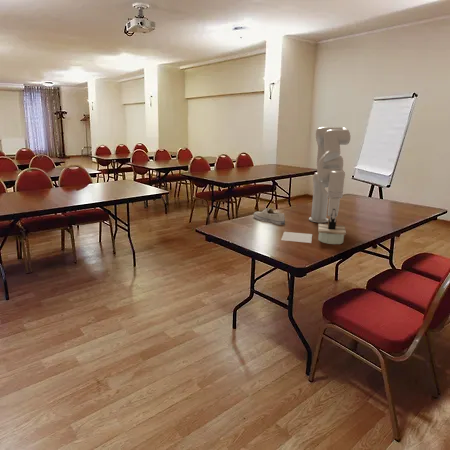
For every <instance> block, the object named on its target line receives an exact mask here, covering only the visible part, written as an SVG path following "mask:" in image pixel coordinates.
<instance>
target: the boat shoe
mask: <svg viewBox="0 0 450 450" xmlns="http://www.w3.org/2000/svg"><path fill="white" fill-rule="evenodd" d="M253 217H254V218H255V219H256V220H258V221H263V222H264V221H265V222H269V223H272V224H274V225H276V226H282V225H283V226H284V225H285V223H286V217H285V213H284V212H283V213H279V212H275V210H274V209H273V208H272V207H269V208H268V207H267V208H264V210H262V211H258V210H257V211H255V212H254V213H253Z"/></svg>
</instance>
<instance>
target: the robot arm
mask: <svg viewBox="0 0 450 450" xmlns="http://www.w3.org/2000/svg"><path fill="white" fill-rule="evenodd" d="M315 141H316V145H317V156H316V170H317V171H316V172H315V173H314V174H313V176H312V184H313V188H312V189H313V193H312V204H311V216H310V217H308V221H310V222H312V223H316V224H317V223H318V224H326V223H328V220H329V219H330V222H329V229H335V225H337V222H335V221H337V217H338V214H339V209H340V201H341V199H343V194H344V193H343V192H344V186H345V178H346V177H345V176H346V172H345V171H344V158H343V156H342V155H341V146H343V145H345V146H346V145H347V146H348V145H349V144H350V143H351V142H350V141H351V132H350V131H349V129H348V128H346V127H344V126H343V127H341V126H321V127H318V128H316V130H315ZM326 188H328V189H326ZM327 217H329V218H327Z"/></svg>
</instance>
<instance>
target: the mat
mask: <svg viewBox="0 0 450 450" xmlns="http://www.w3.org/2000/svg"><path fill="white" fill-rule="evenodd" d="M312 238H313V233H304V232H291V231H283V234H282V236H281V239H280V240H281V241H287V242H294V243H295V242H298V243H306V244H307V243H309V244H312Z"/></svg>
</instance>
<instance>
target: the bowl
mask: <svg viewBox="0 0 450 450" xmlns="http://www.w3.org/2000/svg"><path fill="white" fill-rule="evenodd" d="M344 239H345V235H342V234H330V233H319V232H318V241H319V242H321V243H324V244H329V245H341V244H344Z"/></svg>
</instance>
